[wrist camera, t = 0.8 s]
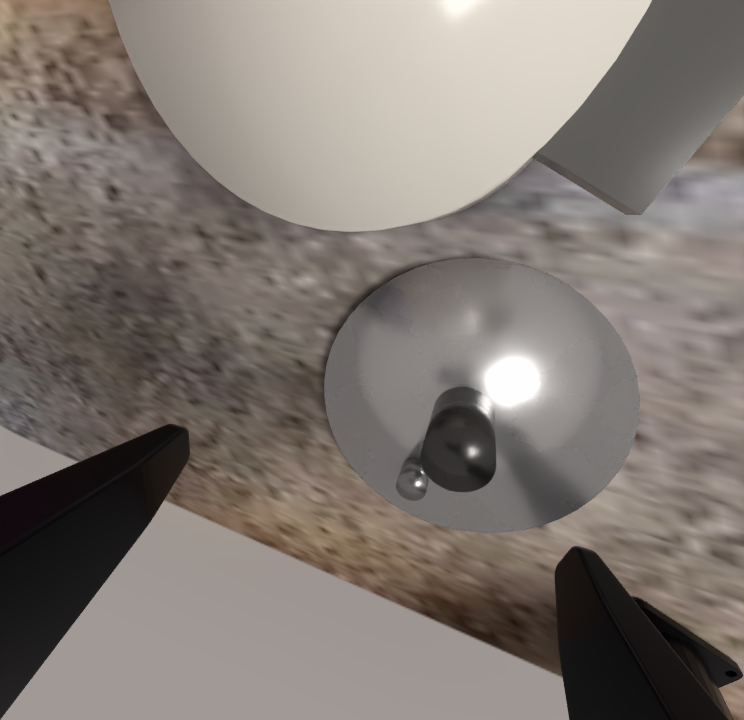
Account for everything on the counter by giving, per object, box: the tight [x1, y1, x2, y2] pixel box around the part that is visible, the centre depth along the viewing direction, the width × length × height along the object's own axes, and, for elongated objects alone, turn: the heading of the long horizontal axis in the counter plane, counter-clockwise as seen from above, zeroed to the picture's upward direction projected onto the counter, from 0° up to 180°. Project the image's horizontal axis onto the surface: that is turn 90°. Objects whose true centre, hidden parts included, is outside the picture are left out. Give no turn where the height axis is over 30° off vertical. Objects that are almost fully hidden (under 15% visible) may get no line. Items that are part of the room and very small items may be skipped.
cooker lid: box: [324, 258, 640, 533], centre depth 17 cm, size 15×15×5 cm
